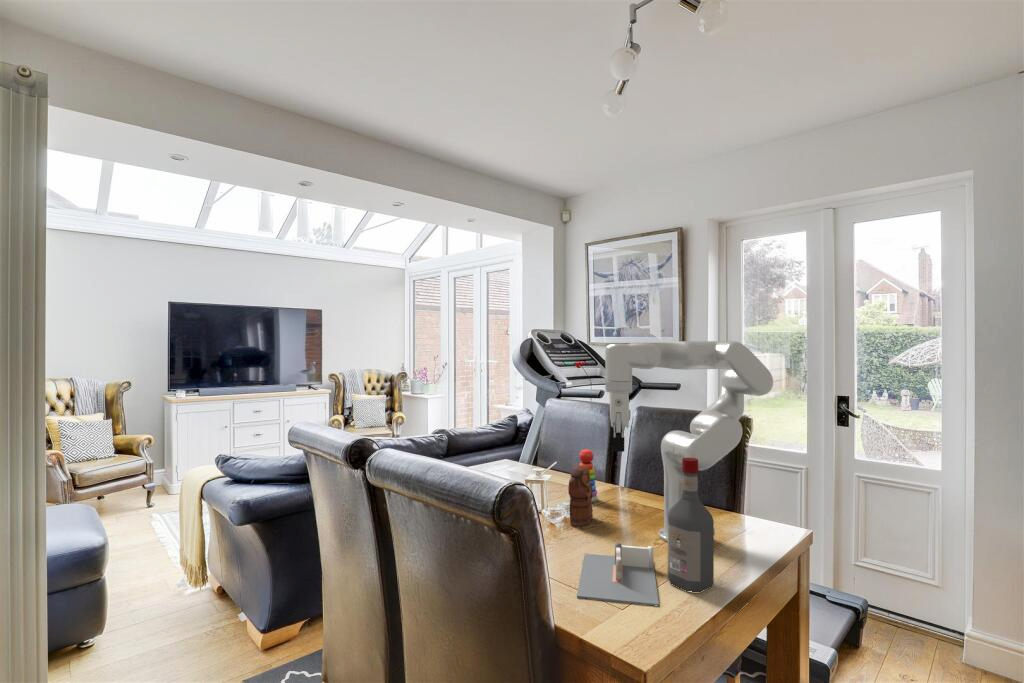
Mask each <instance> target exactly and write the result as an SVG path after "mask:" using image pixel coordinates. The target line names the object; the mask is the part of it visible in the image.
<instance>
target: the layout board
mask: <svg viewBox="0 0 1024 683" xmlns="http://www.w3.org/2000/svg"><path fill="white" fill-rule="evenodd" d="M616 547H617V548H620V554H621V560H622V581H616ZM654 551H655V550H654V546H651V545H648V546H647V547H646V546H635V545H622V543H621V542H615V543H614V555H608V554H607V555H606V554H605V555H604V554H593V553H584V555H583V560H582V566H581V572H580V577H579V582H578V587H577V593H576V598H577V599H583V598H587V599H586V600H592V599H596V600H595V601H602V600H603V601H605V602H611V601H612V602H611V603H614V602H615V603H623V604H630V603H631V605H632V604H634V605H640V604H646V605H645V606H649V605H657V606H656V607H660V604H659V602H660V601H659V596H658V595H659V594H658V588H657V580H656V573H655V565H654V563H655V562H654V561H655V560H654Z"/></svg>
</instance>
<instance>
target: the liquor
mask: <svg viewBox="0 0 1024 683" xmlns="http://www.w3.org/2000/svg"><path fill="white" fill-rule="evenodd" d="M682 471H683V493H682V495H681V497H682V498H681V499H680V500H679V501H678V502H677V503H676V504H675V505H674V506H673V507H672V508H671V509H670V510H669V512H668V542H667V578H668V581H669V584H670V585H671V584H673V585H675V586H674V587H676V586H677V587H676V588H678V587H679V588H678V589H680V588H682V589H684V590H686V591H685V592H687V591H692V592H701V591H703V590H705V589H707V588H709V587H711V588H712V587H713V586H714V572H715V571H714V570H715V567H714V565H715V564H714V563H715V562H714V561H715V559H714V555H715V554H714V550H715V549H714V542H715V541H714V538H715V537H714V536H715V535H714V529H715V528H714V527H715V526H714V525H715V524H714V521H715V520H714V519H713V515H712V513H711V512H710V511H709V510H708V509H707V507H706V506H705V505H704V504H703V502H702V501H701V500H700V496H699V490H698V487H699V479H698V478H699V470H698V459H696V458H682ZM673 585H672V586H673ZM682 589H681V590H682ZM709 589H710V588H709ZM684 590H683V591H684ZM707 590H708V589H707ZM705 591H706V590H705ZM703 592H704V591H703ZM701 593H702V592H701Z"/></svg>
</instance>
